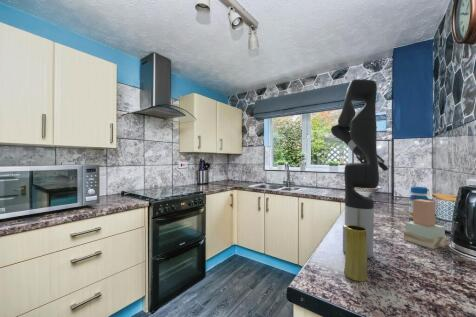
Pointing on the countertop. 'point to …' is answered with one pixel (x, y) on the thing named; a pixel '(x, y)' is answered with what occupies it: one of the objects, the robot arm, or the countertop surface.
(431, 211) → the square block
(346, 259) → the vase
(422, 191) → the beverage bottle
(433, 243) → the tower base
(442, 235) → the tower top
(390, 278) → the countertop surface
